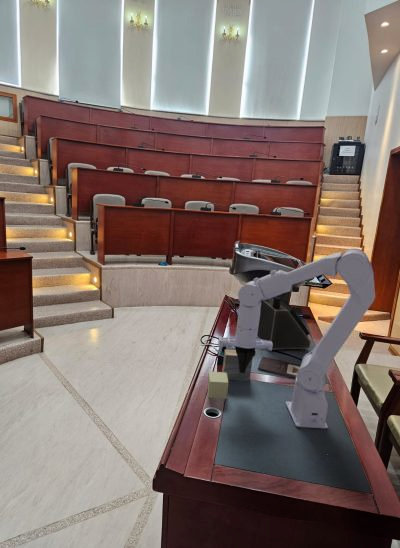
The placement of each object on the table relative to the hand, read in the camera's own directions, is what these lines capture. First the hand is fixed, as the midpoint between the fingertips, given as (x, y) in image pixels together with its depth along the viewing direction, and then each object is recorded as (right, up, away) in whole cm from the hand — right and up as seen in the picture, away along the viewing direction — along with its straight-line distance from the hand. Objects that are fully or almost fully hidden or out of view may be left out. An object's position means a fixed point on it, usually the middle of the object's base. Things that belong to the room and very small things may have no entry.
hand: (241, 371), depth 91 cm
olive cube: (-7, -6, 0) cm, 9 cm away
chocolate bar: (+17, -5, +16) cm, 24 cm away
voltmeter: (+19, 0, +36) cm, 41 cm away
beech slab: (-1, -4, +9) cm, 10 cm away
